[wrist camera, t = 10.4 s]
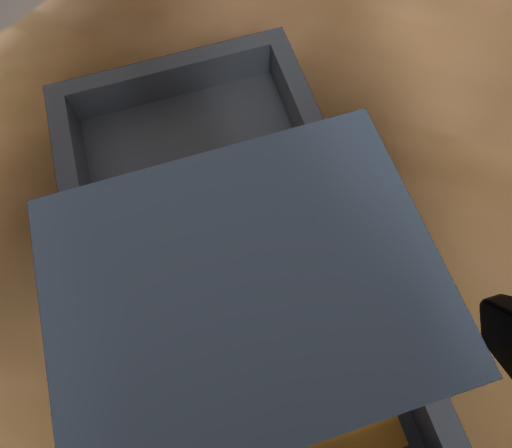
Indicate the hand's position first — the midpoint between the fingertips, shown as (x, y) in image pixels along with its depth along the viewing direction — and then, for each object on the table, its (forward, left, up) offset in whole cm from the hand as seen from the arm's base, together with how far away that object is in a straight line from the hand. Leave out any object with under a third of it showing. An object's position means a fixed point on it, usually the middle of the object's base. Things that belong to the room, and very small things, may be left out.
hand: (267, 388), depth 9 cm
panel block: (0, +1, -7) cm, 7 cm away
